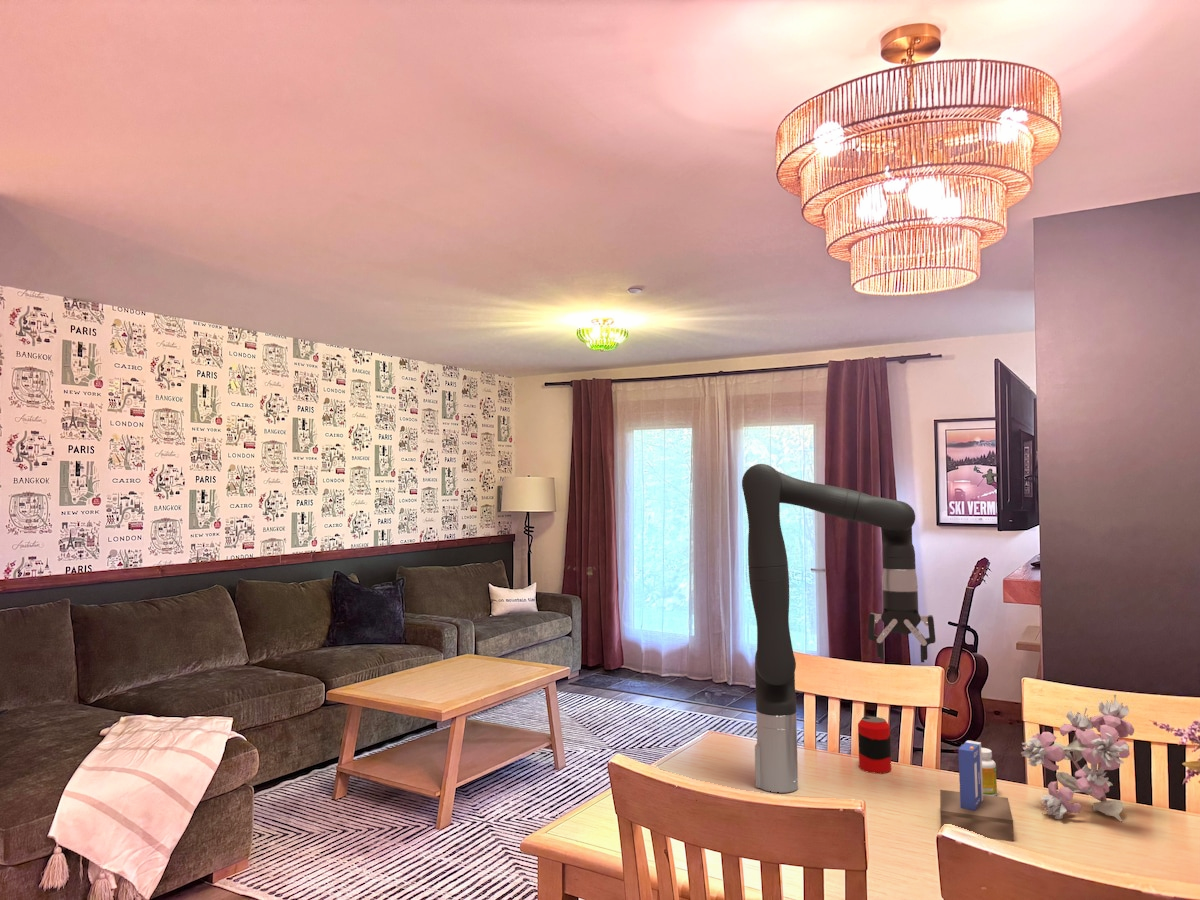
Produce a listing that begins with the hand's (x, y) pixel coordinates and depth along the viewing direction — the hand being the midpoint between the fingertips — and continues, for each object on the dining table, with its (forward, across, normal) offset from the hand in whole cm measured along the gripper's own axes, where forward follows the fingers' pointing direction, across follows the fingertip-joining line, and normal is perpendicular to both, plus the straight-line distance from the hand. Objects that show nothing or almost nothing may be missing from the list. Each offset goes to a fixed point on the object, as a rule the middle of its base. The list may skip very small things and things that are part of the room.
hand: (902, 660), depth 180 cm
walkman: (+26, -13, +11) cm, 31 cm away
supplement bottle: (+30, -16, -9) cm, 35 cm away
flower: (+30, -34, -2) cm, 46 cm away
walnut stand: (+30, -14, +11) cm, 35 cm away
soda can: (+30, +8, -18) cm, 36 cm away
